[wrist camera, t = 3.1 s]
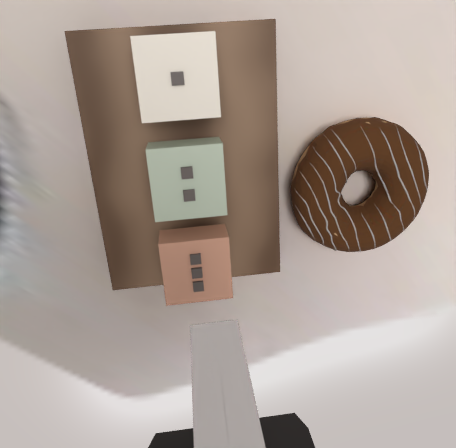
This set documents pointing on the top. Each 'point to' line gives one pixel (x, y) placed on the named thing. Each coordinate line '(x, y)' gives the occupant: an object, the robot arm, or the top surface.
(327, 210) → the donut
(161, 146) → the sage key
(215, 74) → the cream key
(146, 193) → the keypad
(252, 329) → the top surface
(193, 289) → the terracotta key
